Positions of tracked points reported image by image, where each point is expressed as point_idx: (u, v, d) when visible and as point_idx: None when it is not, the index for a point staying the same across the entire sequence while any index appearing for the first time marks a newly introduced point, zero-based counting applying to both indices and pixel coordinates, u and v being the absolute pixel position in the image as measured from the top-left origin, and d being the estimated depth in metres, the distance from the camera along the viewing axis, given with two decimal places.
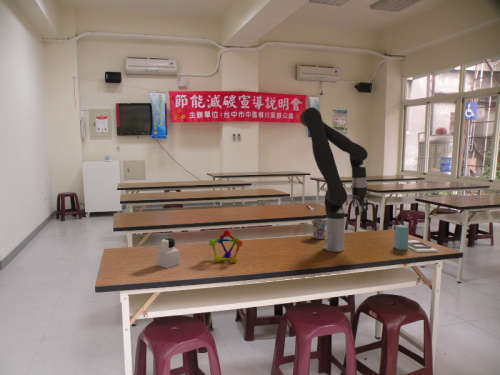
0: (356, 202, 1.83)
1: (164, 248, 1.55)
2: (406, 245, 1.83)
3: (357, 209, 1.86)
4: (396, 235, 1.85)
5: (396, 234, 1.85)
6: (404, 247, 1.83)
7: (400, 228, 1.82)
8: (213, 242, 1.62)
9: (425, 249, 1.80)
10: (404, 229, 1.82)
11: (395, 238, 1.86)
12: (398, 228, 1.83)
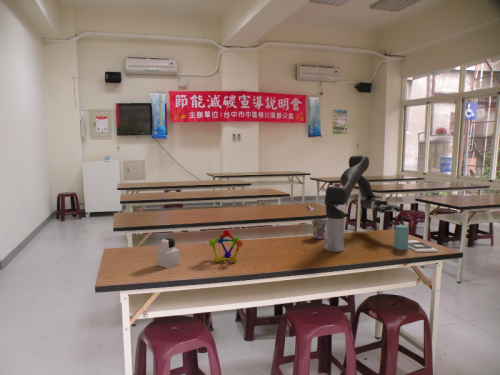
0: (383, 206, 2.03)
1: (164, 248, 1.55)
2: (406, 245, 1.83)
3: None
4: (396, 235, 1.85)
5: (396, 234, 1.85)
6: (404, 247, 1.83)
7: (400, 228, 1.82)
8: (213, 242, 1.62)
9: (425, 249, 1.80)
10: (404, 229, 1.82)
11: (395, 238, 1.86)
12: (398, 228, 1.83)
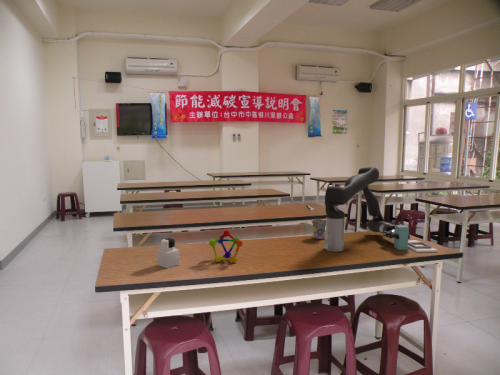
0: None
1: (164, 248, 1.55)
2: (406, 245, 1.83)
3: None
4: None
5: None
6: (404, 247, 1.83)
7: (400, 228, 1.82)
8: (213, 242, 1.62)
9: (425, 249, 1.80)
10: (404, 229, 1.82)
11: (395, 238, 1.86)
12: (398, 228, 1.83)
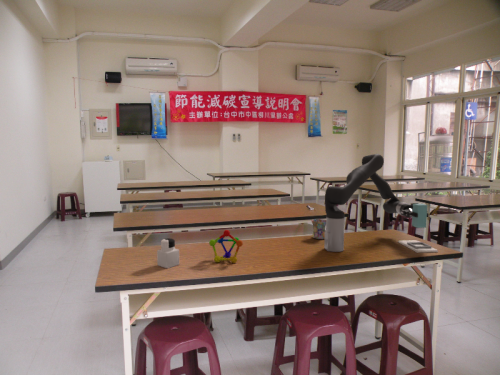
0: (411, 210, 1.90)
1: (164, 248, 1.55)
2: (424, 223, 1.83)
3: None
4: None
5: None
6: (423, 225, 1.83)
7: (419, 206, 1.82)
8: (213, 242, 1.62)
9: (425, 249, 1.80)
10: (423, 207, 1.82)
11: None
12: (416, 206, 1.83)
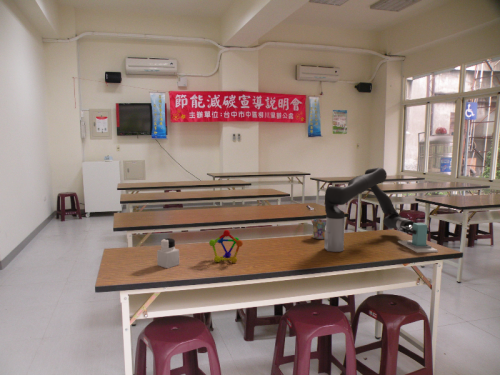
0: (411, 227, 1.91)
1: (164, 248, 1.55)
2: (424, 243, 1.84)
3: None
4: None
5: None
6: (423, 245, 1.84)
7: (419, 226, 1.82)
8: (213, 242, 1.62)
9: (425, 249, 1.80)
10: (422, 227, 1.83)
11: (413, 236, 1.87)
12: (416, 226, 1.83)
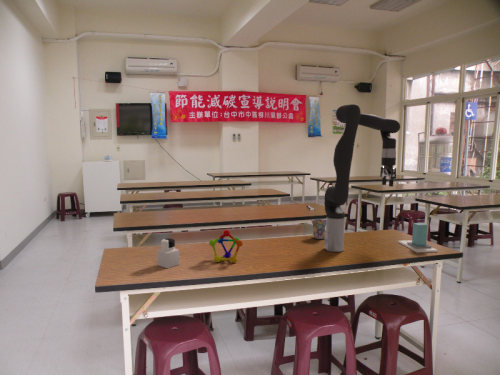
0: (384, 172, 1.97)
1: (164, 248, 1.55)
2: (424, 243, 1.84)
3: (384, 179, 2.00)
4: (414, 233, 1.86)
5: (414, 232, 1.86)
6: (423, 245, 1.84)
7: (419, 226, 1.82)
8: (213, 242, 1.62)
9: (425, 249, 1.80)
10: (422, 227, 1.83)
11: (413, 236, 1.87)
12: (416, 226, 1.83)
